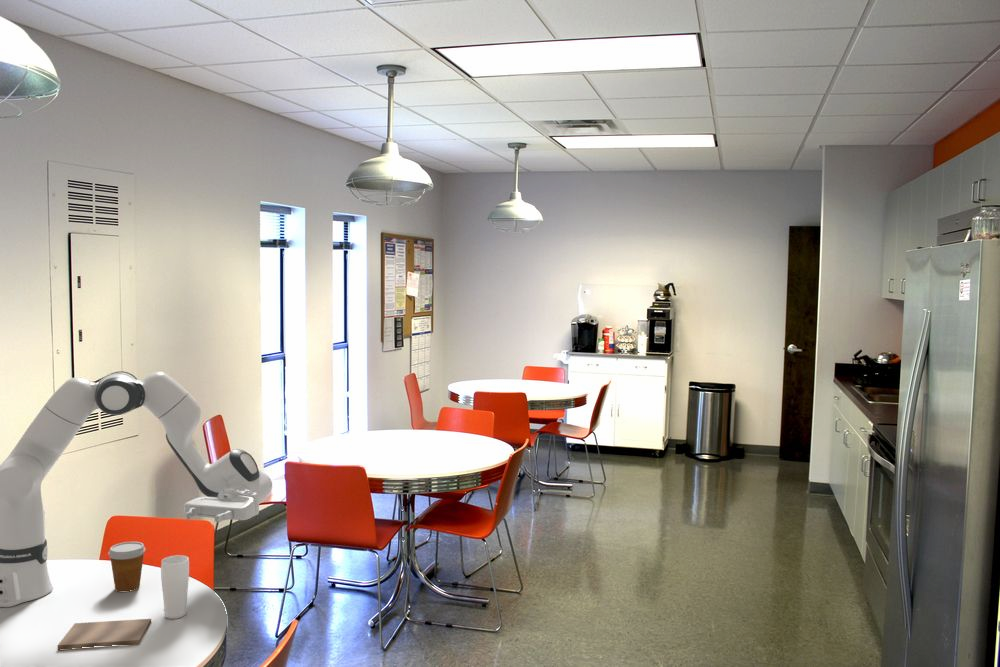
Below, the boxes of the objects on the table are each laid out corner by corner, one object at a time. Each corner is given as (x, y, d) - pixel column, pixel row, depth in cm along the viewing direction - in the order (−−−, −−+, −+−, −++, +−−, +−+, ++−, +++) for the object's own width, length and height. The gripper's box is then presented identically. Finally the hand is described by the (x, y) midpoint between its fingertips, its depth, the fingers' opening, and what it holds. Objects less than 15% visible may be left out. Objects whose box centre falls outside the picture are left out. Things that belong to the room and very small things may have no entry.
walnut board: (57, 650, 183) (57, 645, 183) (74, 627, 195) (74, 623, 195) (139, 644, 187) (139, 639, 187) (151, 623, 198) (151, 618, 198)
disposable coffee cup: (104, 595, 215) (104, 553, 214) (113, 582, 224) (113, 542, 223) (142, 593, 217) (141, 551, 216) (149, 580, 226) (148, 540, 225)
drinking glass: (179, 622, 199) (178, 565, 198) (155, 619, 201) (155, 562, 200) (194, 611, 206) (194, 556, 205) (171, 608, 207) (171, 553, 206)
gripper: (201, 488, 228) (169, 504, 215) (262, 493, 222) (233, 509, 209) (203, 509, 229) (171, 526, 216) (263, 514, 223) (234, 532, 210)
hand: (202, 518), depth 212 cm, fingers open, 8 cm apart
